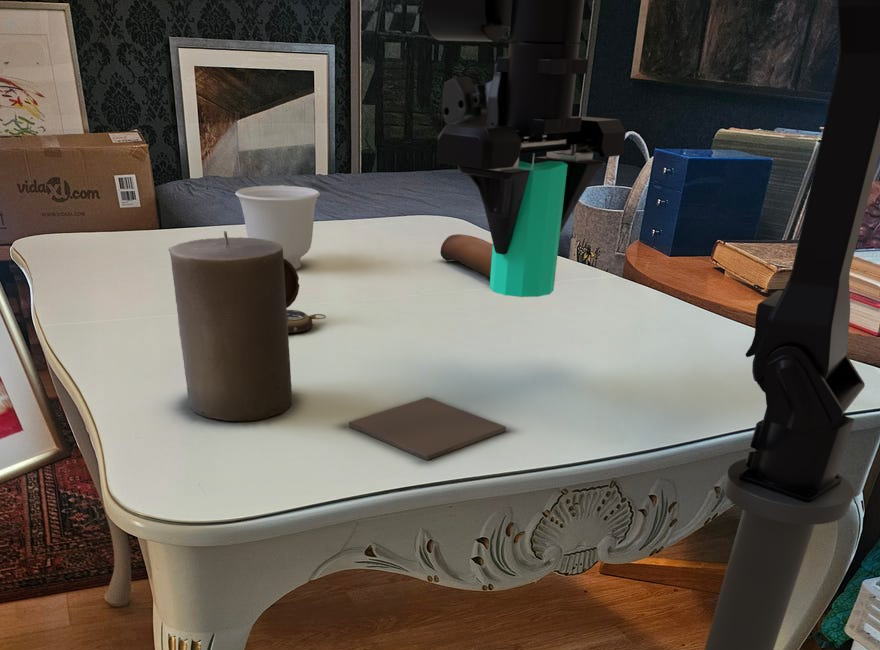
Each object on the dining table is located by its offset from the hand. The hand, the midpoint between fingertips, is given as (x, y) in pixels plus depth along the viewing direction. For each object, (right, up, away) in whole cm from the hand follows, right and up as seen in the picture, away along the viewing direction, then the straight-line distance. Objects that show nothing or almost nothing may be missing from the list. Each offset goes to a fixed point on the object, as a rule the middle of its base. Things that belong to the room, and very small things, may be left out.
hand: (525, 249), depth 79 cm
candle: (0, -3, +2) cm, 4 cm away
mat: (-9, -17, -2) cm, 19 cm away
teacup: (-29, +21, +51) cm, 62 cm away
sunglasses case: (+2, +19, +49) cm, 53 cm away
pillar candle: (-27, -14, +2) cm, 30 cm away
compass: (-24, +2, +24) cm, 34 cm away
